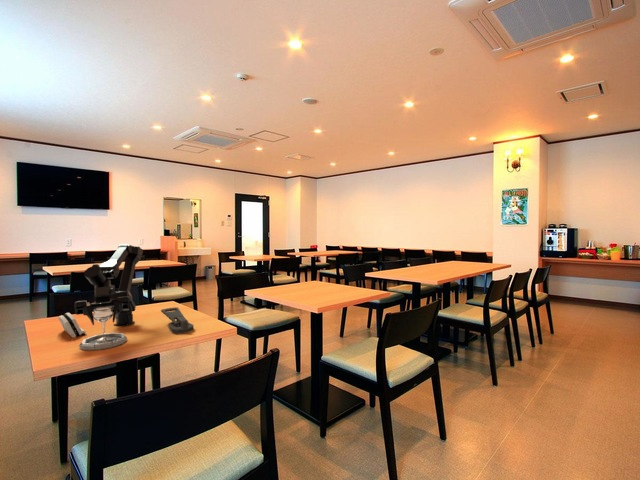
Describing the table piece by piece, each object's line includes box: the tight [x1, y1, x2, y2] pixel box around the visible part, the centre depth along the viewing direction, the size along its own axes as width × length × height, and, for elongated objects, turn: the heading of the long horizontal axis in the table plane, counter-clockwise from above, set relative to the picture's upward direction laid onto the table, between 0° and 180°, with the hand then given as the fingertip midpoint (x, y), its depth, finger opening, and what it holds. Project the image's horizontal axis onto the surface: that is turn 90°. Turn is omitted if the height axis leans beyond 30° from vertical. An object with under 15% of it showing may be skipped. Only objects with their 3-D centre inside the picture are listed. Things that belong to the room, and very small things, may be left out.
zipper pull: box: [160, 306, 194, 335], centre depth 158 cm, size 9×7×25 cm
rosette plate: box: [78, 332, 128, 352], centre depth 136 cm, size 16×16×2 cm
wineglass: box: [92, 307, 113, 341], centre depth 136 cm, size 7×7×12 cm
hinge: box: [57, 312, 88, 339], centre depth 151 cm, size 17×5×10 cm, turn 47°
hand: (103, 323), depth 135 cm, fingers closed on wineglass, 6 cm apart
